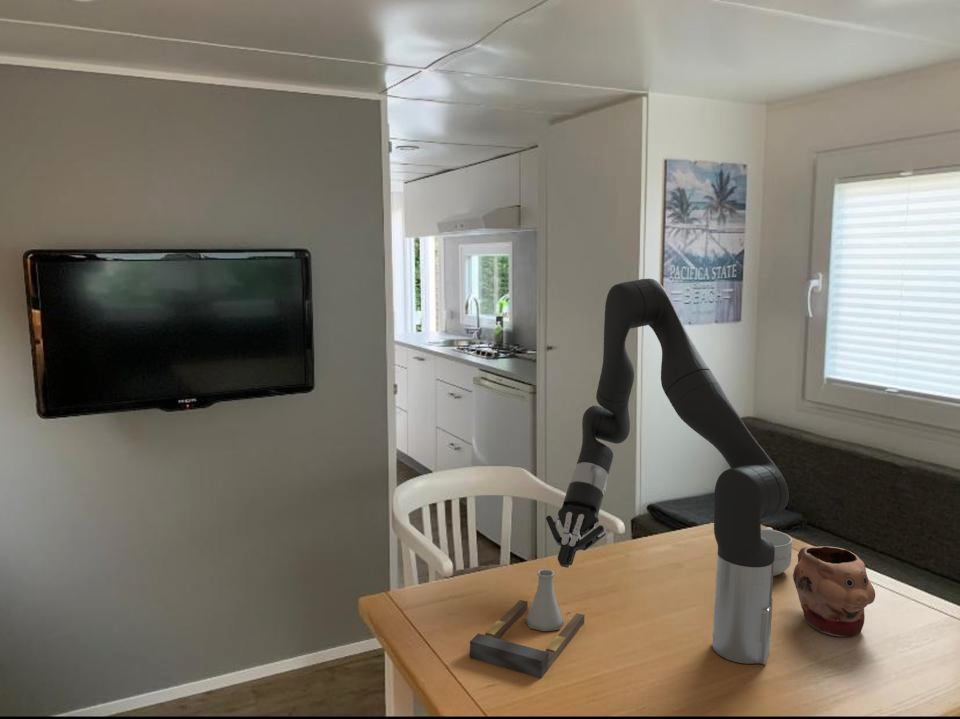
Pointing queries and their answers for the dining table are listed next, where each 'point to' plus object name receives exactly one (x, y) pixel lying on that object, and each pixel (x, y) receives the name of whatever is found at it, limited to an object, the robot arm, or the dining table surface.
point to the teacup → (779, 549)
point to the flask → (545, 605)
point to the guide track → (516, 654)
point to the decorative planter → (833, 589)
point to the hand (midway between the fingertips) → (563, 565)
